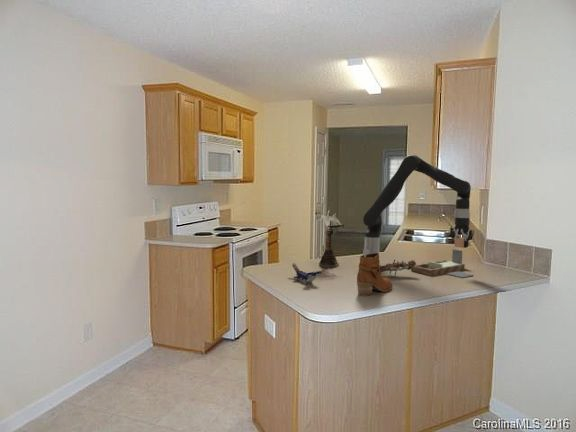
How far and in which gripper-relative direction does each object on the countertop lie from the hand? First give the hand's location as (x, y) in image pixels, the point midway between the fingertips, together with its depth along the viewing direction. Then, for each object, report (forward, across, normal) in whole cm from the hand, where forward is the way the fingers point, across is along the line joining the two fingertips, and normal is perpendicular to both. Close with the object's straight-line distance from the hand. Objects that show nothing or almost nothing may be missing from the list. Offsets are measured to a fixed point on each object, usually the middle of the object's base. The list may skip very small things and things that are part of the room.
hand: (461, 246), depth 225 cm
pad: (+16, 0, 0) cm, 16 cm away
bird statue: (+15, -54, -49) cm, 75 cm away
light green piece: (+15, -14, +7) cm, 21 cm away
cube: (0, 0, 0) cm, 0 cm away
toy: (+15, -35, -83) cm, 91 cm away
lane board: (+16, -14, -1) cm, 21 cm away
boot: (+16, -1, -64) cm, 66 cm away
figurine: (+16, -19, -37) cm, 44 cm away
